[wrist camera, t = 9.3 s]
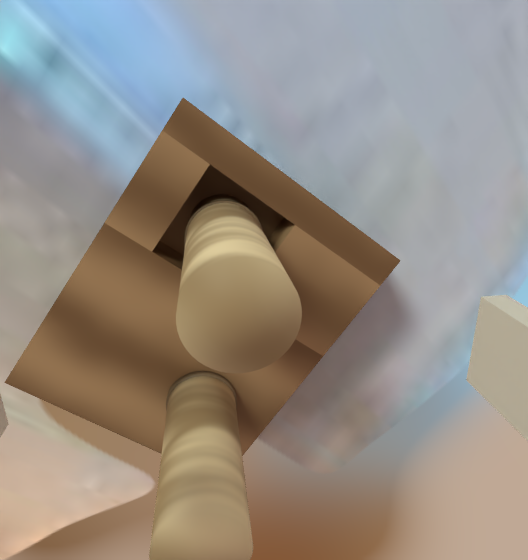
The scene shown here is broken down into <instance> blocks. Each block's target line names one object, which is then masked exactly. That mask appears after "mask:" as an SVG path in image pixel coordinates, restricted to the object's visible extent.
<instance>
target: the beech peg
mask: <svg viewBox="0 0 528 560" xmlns="http://www.w3.org/2000/svg"><path fill="white" fill-rule="evenodd" d="M184 242H185V251H184V258H183V266H182V273H181V281H180V288H179V296H178V303H177V311H176V326H177V331H178V334H179V337H180V340H181V342H182V344H183V345H184V347H185V348H186V350H187V351H188V352H189V353H190V354H191V356H192V357H194V358H195V359H196V360H197V361H198V362H200V363H201V364H203V365H205V366H207V367H209V368H211V369H214V370H217V371H220V372H225V373H247V372H252V371H256V370H259V369H262V368H264V367H266V366H268V365H270V364H272V363H274V362H275V361H276V360H278V359H279V358H280V357H281V356H283V355H284V354H285V353H286V352H287V350H288V349H289V348H290V347H291V345H292V344H293V342H294V341H295V339H296V337H297V335H298V332H299V329H300V325H301V319H302V307H301V302H300V298H299V295H298V292H297V290H296V289H295V287H294V285H293V283H292V281H291V280H290V278H289V276H288V274H287V273H286V271H285V269H284V267H283V266H282V264H281V262H280V260H279V259H278V257H277V255H276V253H275V252H274V250H273V248H272V246H271V245H270V243H269V241H268V239H267V238H266V236H265V234H264V232H263V229H262V226H261V224H260V222H259V220H258V218H257V217H256V216H255V214H254V213H253V212H252V211H251V210H250V208H249V207H248V206H247V205H246V204H245V203H244V202H243V201H242V200H240V199H238V198H236V197H234V196H231V195H226V194H218V195H213V196H210V197H207V198H205V199H203V200H202V201H201V202H199V203H198V204H197V205H196V206H195V208H194V209H193V211H192V212H191V215H190V217H189V221H188V224H187V227H186V230H185V237H184Z"/></svg>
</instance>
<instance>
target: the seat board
mask: <svg viewBox="0 0 528 560" xmlns="http://www.w3.org/2000/svg"><path fill="white" fill-rule="evenodd" d="M218 194H226V195H231V196H234V197H236V198H238V199H240V200H242V201H243V202H244V203H245V204H246V205H247V206H248V207H249V208H250V210H251V211H252V212H253V213H254V214H255V216H256V217H257V218H258V220H259V222H260V224H261V226H262V229H263V232H264V234H265V236H266V238H267V239H268V241H269V243H270V245H271V246H272V248H273V250H274V252H275V253H276V255H277V257H278V259H279V260H280V262H281V264H282V266H283V267H284V269H285V271H286V273H287V274H288V276H289V278H290V280H291V281H292V283H293V285H294V287H295V289H296V290H297V292H298V295H299V298H300V302H301V307H302V319H301V325H300V329H299V332H298V335H297V337H296V339H295V341H294V342H293V344H292V345H291V347H290V348H289V349H288V350H287V352H286V353H285V354H284V355H283V356H281V357H280V358H279V359H278V360H276V361H275V362H274V363H272V364H270V365H268V366H266V367H264V368H262V369H259V370H256V371H252V372H247V373H225V372H220V371H217V370H214V369H211V368H209V367H207V366H205V365H203V364H201V363H200V362H198V361H197V360H196V359H195V358H194V357H192V356H191V354H190V353H189V352H188V351H187V350H186V348H185V347H184V345H183V344H182V342H181V340H180V337H179V334H178V331H177V326H176V311H177V303H178V296H179V288H180V281H181V273H182V266H183V258H184V251H185V242H184V237H185V230H186V227H187V224H188V221H189V217H190V215H191V212H192V211H193V209H194V208H195V206H196V205H197V204H198V203H199V202H201V201H202V200H203V199H205V198H207V197H210V196H213V195H218ZM399 262H400V260H399V259H398V258H396V257H395V256H394V255H392V254H391V253H390V252H388V251H387V250H386V249H384V248H383V247H382V246H380V245H379V244H378V243H376V242H375V241H374V240H372V239H371V238H370V237H368V236H367V235H366V234H364V233H363V232H362V231H360V230H359V229H358V228H356V227H355V226H354V225H352V224H351V223H350V222H348V221H347V220H346V219H344V218H343V217H342V216H340V215H339V214H338V213H336V212H335V211H334V210H332V209H331V208H330V207H328V206H327V205H326V204H324V203H323V202H322V201H320V200H319V199H318V198H316V197H315V196H314V195H312V194H311V193H310V192H308V191H307V190H306V189H304V188H303V187H302V186H300V185H299V184H298V183H296V182H295V181H294V180H292V179H291V178H290V177H288V176H287V175H286V174H284V173H283V172H282V171H280V170H279V169H278V168H276V167H275V166H274V165H272V164H271V163H270V162H268V161H267V160H266V159H264V158H263V157H262V156H260V155H259V154H258V153H256V152H255V151H254V150H252V149H251V148H250V147H248V146H247V145H246V144H244V143H243V142H242V141H240V140H239V139H238V138H236V137H235V136H234V135H232V134H231V133H230V132H228V131H227V130H226V129H224V128H223V127H222V126H220V125H219V124H218V123H216V122H215V121H214V120H212V119H211V118H210V117H208V116H207V115H206V114H204V113H203V112H202V111H200V110H199V109H198V108H196V107H195V106H194V105H192V104H191V103H190V102H188V101H187V100H186V99H184V98H182V100H181V101H180V103H179V105H178V106H177V108H176V109H175V111H174V113H173V114H172V116H171V117H170V119H169V121H168V122H167V124H166V125H165V127H164V129H163V130H162V132H161V133H160V135H159V137H158V138H157V140H156V141H155V143H154V145H153V146H152V148H151V149H150V151H149V153H148V154H147V156H146V157H145V159H144V161H143V162H142V164H141V165H140V167H139V169H138V170H137V172H136V173H135V175H134V177H133V178H132V180H131V181H130V183H129V185H128V186H127V188H126V189H125V191H124V193H123V194H122V196H121V197H120V199H119V201H118V202H117V204H116V205H115V207H114V209H113V210H112V212H111V213H110V215H109V217H108V218H107V220H106V221H105V223H104V225H103V226H102V228H101V229H100V231H99V233H98V234H97V236H96V237H95V239H94V241H93V242H92V244H91V245H90V247H89V249H88V250H87V252H86V253H85V255H84V256H83V258H82V260H81V261H80V263H79V264H78V266H77V268H76V269H75V271H74V272H73V274H72V276H71V277H70V279H69V280H68V282H67V284H66V285H65V287H64V288H63V290H62V292H61V293H60V295H59V296H58V298H57V300H56V301H55V303H54V304H53V306H52V308H51V309H50V311H49V312H48V314H47V316H46V317H45V319H44V320H43V322H42V324H41V325H40V327H39V328H38V330H37V332H36V333H35V335H34V336H33V338H32V340H31V341H30V343H29V344H28V346H27V348H26V349H25V351H24V352H23V354H22V356H21V357H20V359H19V360H18V362H17V364H16V365H15V367H14V368H13V370H12V372H11V373H10V375H9V376H8V378H7V380H6V381H5V383H7V384H9V385H11V386H13V387H15V388H18V389H20V390H22V391H24V392H27V393H29V394H31V395H33V396H35V397H38V398H40V399H42V400H44V401H46V402H49V403H51V404H53V405H55V406H58V407H60V408H62V409H64V410H66V411H68V412H71V413H73V414H75V415H77V416H80V417H82V418H84V419H86V420H88V421H90V422H93V423H95V424H97V425H99V426H102V427H104V428H106V429H108V430H110V431H113V432H115V433H117V434H119V435H121V436H124V437H126V438H128V439H130V440H132V441H135V442H137V443H139V444H141V445H143V446H146V447H148V448H150V449H152V450H155V451H157V452H159V453H161V464H160V471H159V480H158V487H157V496H156V504H155V513H154V521H153V529H152V537H151V545H150V555H149V558H150V560H250V558H251V556H252V552H253V542H252V533H251V525H250V517H249V509H248V501H247V492H246V484H245V476H244V468H243V461H242V456H243V454H244V453H245V452H246V451H247V450H248V448H249V447H250V446H251V445H252V443H253V442H254V441H255V440H256V438H257V437H258V436H259V435H260V433H261V432H262V431H263V430H264V429H265V427H266V426H267V425H268V424H269V422H270V421H271V420H272V419H273V417H274V416H275V415H276V414H277V413H278V411H279V410H280V409H281V408H282V406H283V405H284V404H285V403H286V401H287V400H288V399H289V398H290V396H291V395H292V394H293V393H294V392H295V390H296V389H297V388H298V387H299V385H300V384H301V383H302V382H303V380H304V379H305V378H306V377H307V375H308V374H309V373H310V372H311V371H312V369H313V368H314V367H315V366H316V364H317V363H318V362H319V361H320V359H321V358H322V357H323V356H324V355H325V353H326V352H327V351H328V350H329V348H330V347H331V346H332V345H333V343H334V342H335V341H336V340H337V338H338V337H339V336H340V335H341V334H342V332H343V331H344V330H345V329H346V327H347V326H348V325H349V324H350V322H351V321H352V320H353V319H354V317H355V316H356V315H357V314H358V313H359V311H360V310H361V309H362V308H363V306H364V305H365V304H366V303H367V301H368V300H369V299H370V298H371V296H372V295H373V294H374V293H375V292H376V290H377V289H378V288H379V287H380V285H381V284H382V283H383V282H384V280H385V279H386V278H387V277H388V276H389V274H390V273H391V272H392V271H393V269H394V268H395V267H396V266H397V264H398V263H399Z"/></svg>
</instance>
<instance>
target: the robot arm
mask: <svg viewBox="0 0 528 560" xmlns="http://www.w3.org/2000/svg"><path fill="white" fill-rule="evenodd" d="M467 381H468V382H469V383H470V384H471V385H472V386H473V387H474V388H475V389H476V390H477V391H478V392H479V393H480V394H481V395H482V396H483V397H484V398H485V399H486V400H487V401H488V402H489V403H490V404H491V405H492V406H493V407H494V408H495V409H496V410H497V411H498V412H499V413H500V414H501V415H502V416H503V417H504V418H505V419H506V420H507V421H508V422H509V423H510V424H511V425H512V426H513V427H514V428H515V429H516V430H517V431H518V432H519V433H520V434H521V435H522V436H523V437H524V438H525V439H526V440H527V441H528V308H527V307H526V306H524V305H522V304H521V303H519V302H517V301H516V300H514V299H512V298H511V297H509V296H507V295H500V296H486V297H481V301H480V306H479V312H478V318H477V323H476V329H475V335H474V340H473V346H472V351H471V357H470V363H469V368H468V374H467ZM7 426H8V420H7V417H6V413H5V409H4V406H3V402H2V398H1V395H0V437H1V435H2V434H3V432H4V430H5V429H6V427H7Z"/></svg>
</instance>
